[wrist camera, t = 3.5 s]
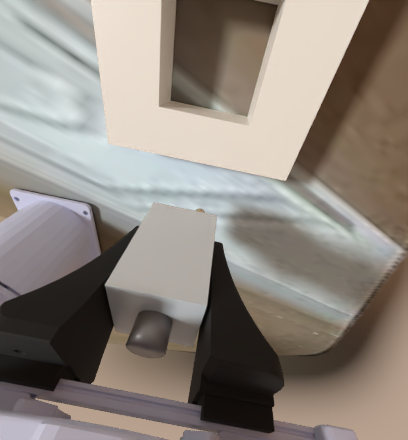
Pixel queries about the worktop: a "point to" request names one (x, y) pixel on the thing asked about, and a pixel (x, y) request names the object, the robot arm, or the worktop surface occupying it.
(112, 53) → the socket box
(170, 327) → the plug
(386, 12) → the worktop surface
